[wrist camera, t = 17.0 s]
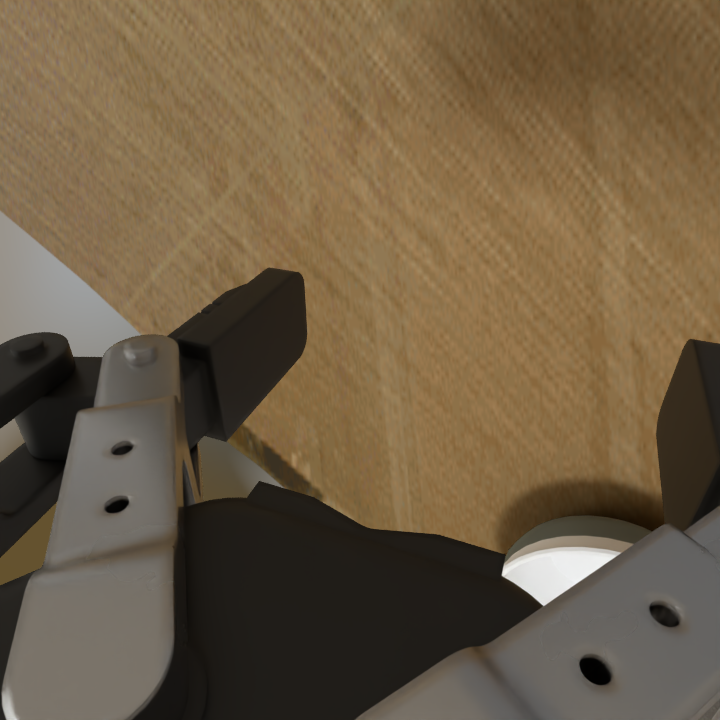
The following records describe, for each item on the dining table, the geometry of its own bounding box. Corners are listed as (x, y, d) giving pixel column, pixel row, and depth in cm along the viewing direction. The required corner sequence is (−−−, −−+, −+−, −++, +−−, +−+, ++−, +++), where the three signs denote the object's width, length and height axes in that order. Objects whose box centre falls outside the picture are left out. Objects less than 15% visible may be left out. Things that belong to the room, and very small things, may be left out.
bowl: (520, 453, 50) (507, 521, 44) (753, 515, 45) (778, 602, 39) (485, 579, 61) (471, 648, 54) (671, 640, 56) (680, 725, 49)
